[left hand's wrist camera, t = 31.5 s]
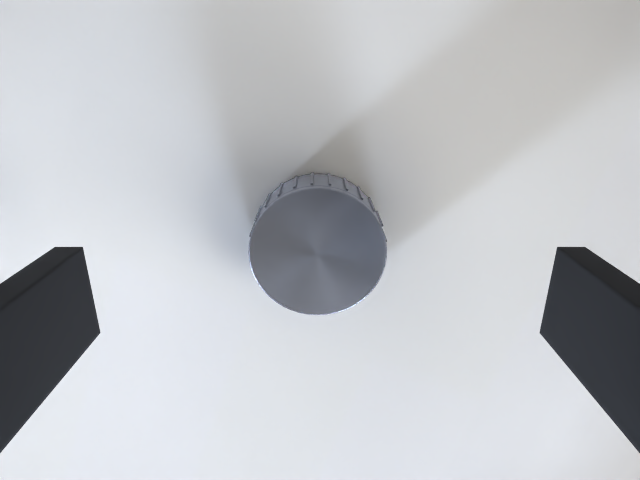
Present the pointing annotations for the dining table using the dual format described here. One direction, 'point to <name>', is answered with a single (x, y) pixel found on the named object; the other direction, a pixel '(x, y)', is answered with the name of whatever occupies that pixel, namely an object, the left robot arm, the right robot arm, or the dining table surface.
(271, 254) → the cap
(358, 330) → the dining table surface
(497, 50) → the dining table surface
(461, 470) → the dining table surface
